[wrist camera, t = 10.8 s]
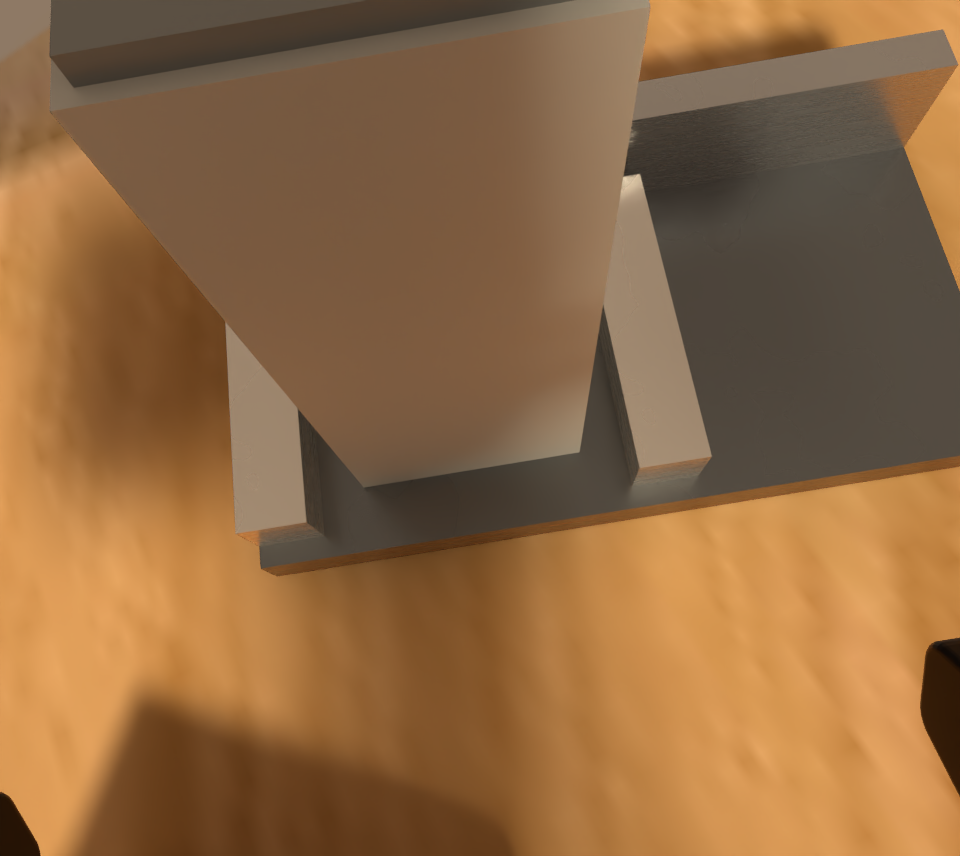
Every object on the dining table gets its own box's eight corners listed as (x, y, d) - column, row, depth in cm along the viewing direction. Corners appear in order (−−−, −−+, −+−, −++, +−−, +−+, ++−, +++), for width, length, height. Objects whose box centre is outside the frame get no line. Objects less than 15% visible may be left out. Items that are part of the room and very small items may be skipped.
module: (579, 452, 18) (656, -32, 6) (364, 487, 18) (24, 80, 6) (539, 253, 20) (538, -431, 8) (342, 286, 20) (44, -339, 8)
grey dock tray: (990, 461, 19) (1103, 401, 15) (277, 576, 19) (212, 546, 15) (873, 146, 22) (943, 29, 18) (255, 250, 22) (197, 157, 18)
